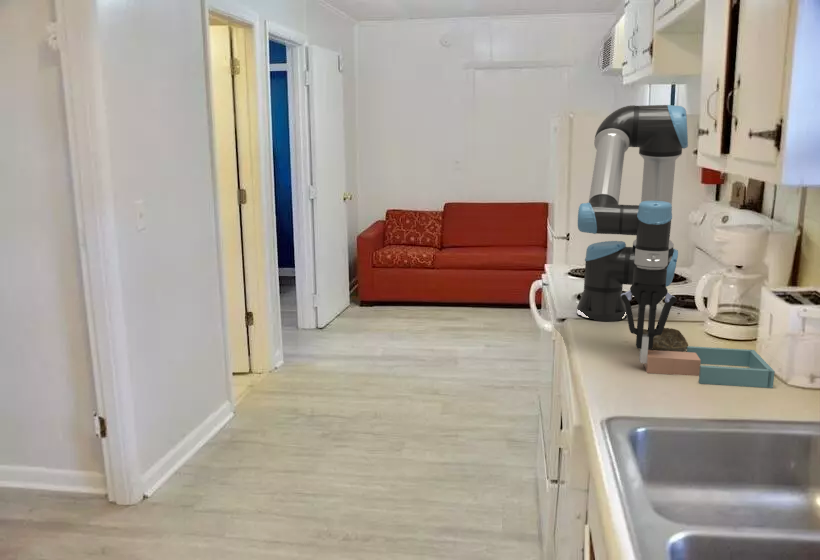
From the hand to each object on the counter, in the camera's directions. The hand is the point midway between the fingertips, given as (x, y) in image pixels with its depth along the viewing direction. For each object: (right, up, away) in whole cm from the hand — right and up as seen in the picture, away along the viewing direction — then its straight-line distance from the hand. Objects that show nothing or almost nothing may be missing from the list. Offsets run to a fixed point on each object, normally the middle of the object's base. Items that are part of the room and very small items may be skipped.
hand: (643, 361), depth 176 cm
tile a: (+10, -2, -1) cm, 10 cm away
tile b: (+4, -2, 0) cm, 4 cm away
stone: (+10, +1, +16) cm, 19 cm away
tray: (+19, -3, -3) cm, 19 cm away
